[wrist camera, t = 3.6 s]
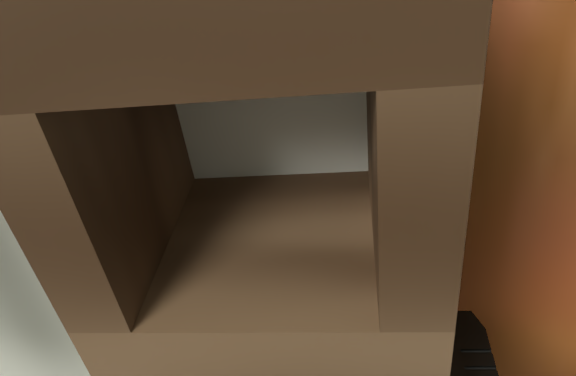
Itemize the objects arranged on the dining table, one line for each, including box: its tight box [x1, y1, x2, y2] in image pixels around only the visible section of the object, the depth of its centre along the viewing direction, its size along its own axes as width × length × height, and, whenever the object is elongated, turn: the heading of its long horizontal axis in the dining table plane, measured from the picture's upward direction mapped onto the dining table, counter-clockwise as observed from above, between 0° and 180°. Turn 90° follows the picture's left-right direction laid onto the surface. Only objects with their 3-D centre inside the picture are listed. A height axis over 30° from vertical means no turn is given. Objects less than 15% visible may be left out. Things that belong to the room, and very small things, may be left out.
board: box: [0, 92, 368, 376], centre depth 13 cm, size 20×15×1 cm
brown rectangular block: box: [0, 0, 493, 376], centre depth 10 cm, size 13×6×4 cm, turn 6°
